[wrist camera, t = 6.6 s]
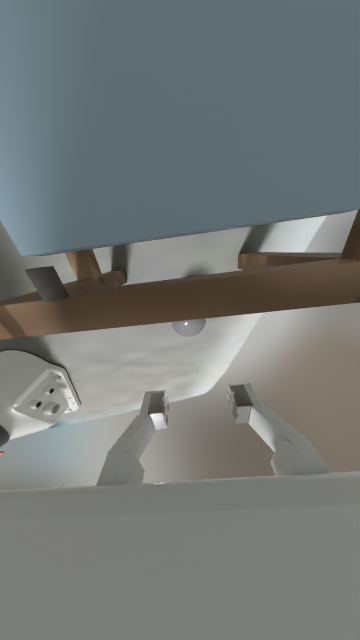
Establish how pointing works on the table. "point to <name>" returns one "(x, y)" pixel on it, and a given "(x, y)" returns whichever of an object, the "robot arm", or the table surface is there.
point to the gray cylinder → (189, 326)
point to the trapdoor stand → (182, 292)
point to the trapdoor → (174, 117)
